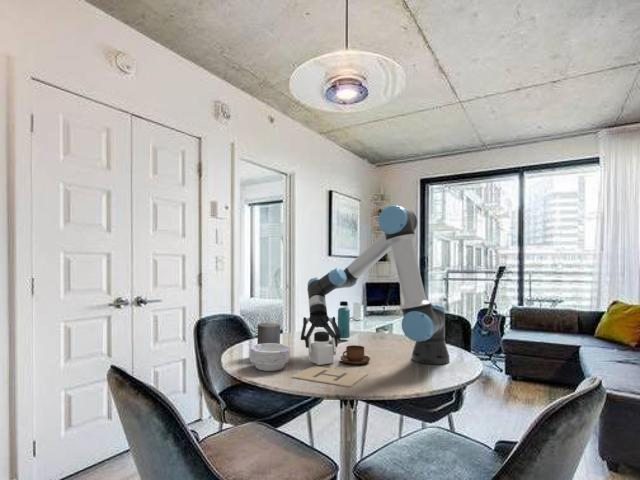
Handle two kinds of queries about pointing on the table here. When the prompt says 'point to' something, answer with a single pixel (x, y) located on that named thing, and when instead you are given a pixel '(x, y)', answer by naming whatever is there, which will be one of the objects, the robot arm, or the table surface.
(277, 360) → the paper bowls
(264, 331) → the pillar candle
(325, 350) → the medicine bottle
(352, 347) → the cup and saucer
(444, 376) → the table surface
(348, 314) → the beverage bottle
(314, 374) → the letter card
